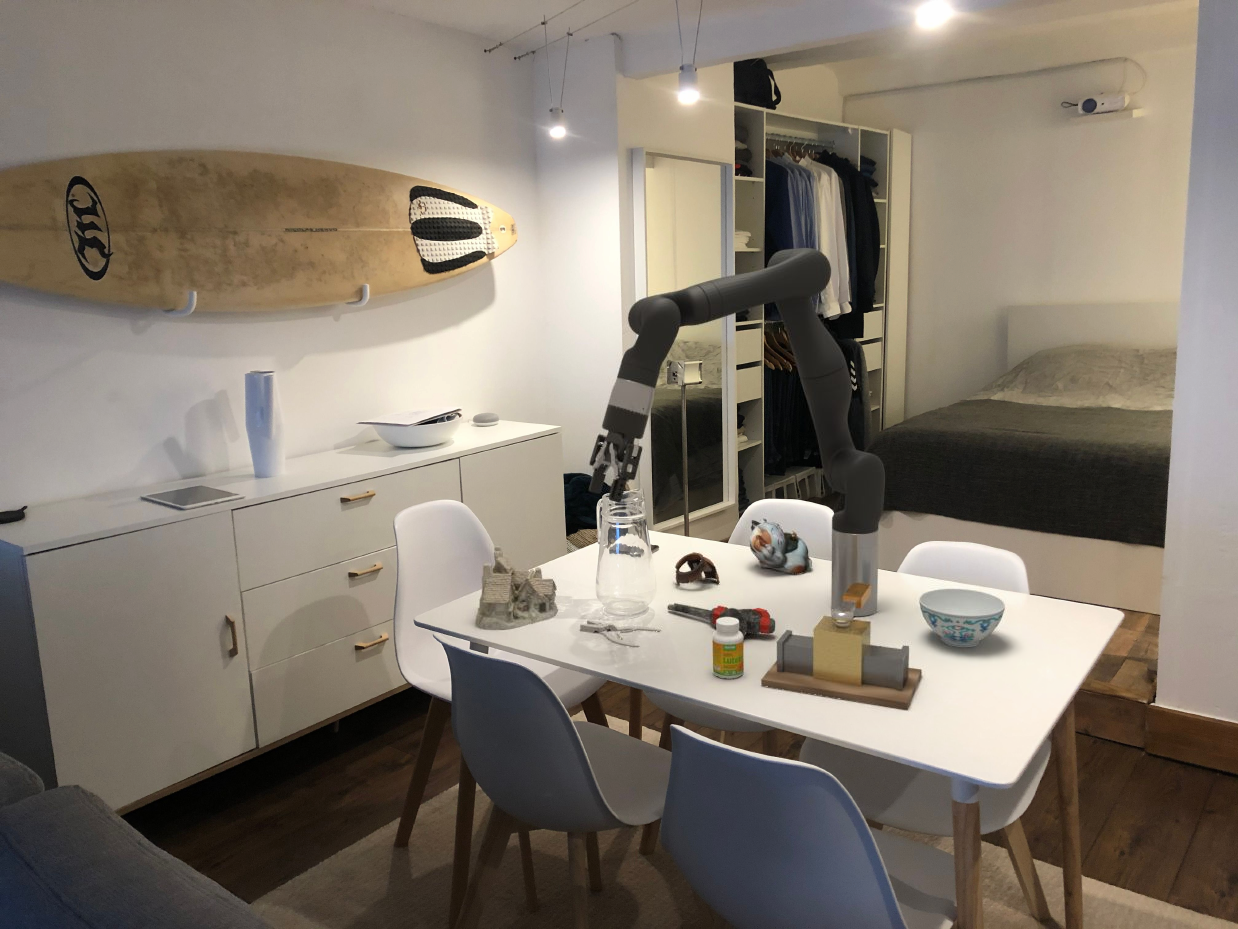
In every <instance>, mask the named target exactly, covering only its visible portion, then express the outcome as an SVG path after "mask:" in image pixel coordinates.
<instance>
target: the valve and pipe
mask: <svg viewBox="0 0 1238 929" xmlns="http://www.w3.org/2000/svg"><path fill="white" fill-rule="evenodd" d="M871 624H872V623H871V621H869V620H868V621H867V620H862V619H854V618H853V621H851V622H836V621H834V620H832V618H831V616H830V615H823V616H822V618H820V620H819V621H818V622H817V624H816V626H814V628H813V630H812V631H813V635H812V636H808V635H799V634H793V629H790V630H789V629H786V630H785V631H784V632H783V634H782V635H781V636H780V637H779V638H778V640H777V641H776V661H777V672H781V673H783V672H789V673H796V674H802V675H808V676H813V679H818V680H825V681H831V682H837V683H844V684H850V685H857V686H861V685H862V684H867V685H873V686H880V687H886V688H893V689H896V690H897V691H902V690H903V688H904V686H905V684H906V682H907V679H908V677H909V668H910V667H909V666H910V646H909V645H902V647H901V648H896V647H888V646H882V645H881V646H880V645H874V644H871V638H872V637H871V635H872V634H871V632H872V631H871V628H872V627H871V626H872V625H871Z"/></svg>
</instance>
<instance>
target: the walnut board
mask: <svg viewBox="0 0 1238 929" xmlns="http://www.w3.org/2000/svg"><path fill="white" fill-rule="evenodd" d="M922 673H923V672H922V669H921V668H914V667H909V677H908V679H907V682H906V684H905V686H904V688H903V690H902V691H897V690H896V689H893V688H886V687H880V686H873V685H867V684H862V685H861V686H857V685H850V684H844V683H837V682H831V681H825V680H818V679H813V676H808V675H802V674H796V673H789V672H783V673H781V672H777V660H775V662H774V663H773V664H772V665H771V667H770V668H769V669H768V671H767V672H766V673H765V674H764V675H763V677H762V678H761V680H760V682H761V685H760V686H761V687H764V686H768V687H767V688H770V687H773V688H772V689H776V688H778V689H777V690H782V689H784V690H783V691H788V690H791V691H790V692H795V691H796V692H795V693H801V692H802V693H801V694H807V693H810V695H813V694H816V695H815V696H819V695H822V696H821V697H825V696H828V698H831V697H834V698H833V699H837V698H840V699H839V700H844V699H846V700H845V701H850V700H852V701H851V702H856V701H858V702H857V703H862V702H863V703H864V704H870V705H876V706H881V707H888V708H895V709H898V710H899V709H900V710H906V711H908V708H910V704H911V701H912V699H913V697H914V695H915V692H916V690H917V687H918V685H919V683H920V680H921V678H922Z"/></svg>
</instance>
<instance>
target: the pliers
mask: <svg viewBox="0 0 1238 929" xmlns="http://www.w3.org/2000/svg"><path fill="white" fill-rule="evenodd" d="M579 628H580V630H579V631H580V632H587V633H592V634H594V633H596V632H597V633H598V634H600V635H602V636H604V637H605V638H606V639H607V640H608V641H610V642H612V643H614V644H616V645H619V646H623V647H627V646H629V647H630V648H634V647H639V648H640V645H639V644H636V643H635V644H634V643H631V642H628V641H625V640H623V639H622V635H621V634H628V633H629V634H630V633H633V631H634V632H637V631H645V632H653V631H655V633H661V632H662V630H661V629H658V628H654V627H649V626H638V625H637V626H636V625H626V626H624V625H623V626H617V625H615V624H614V623H612V622H603V623H602V622H601V621H597V620H592V619H587V620H586V623H580V624H579ZM609 630H610V631H612V632H617V633H616V636H617V637H618V638H617V637H616V636H615V635H614V634H613V633H612V632H609ZM656 631H657V632H656ZM660 631H661V632H660ZM618 632H619V633H618Z"/></svg>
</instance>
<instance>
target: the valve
mask: <svg viewBox="0 0 1238 929" xmlns="http://www.w3.org/2000/svg"><path fill="white" fill-rule="evenodd" d="M667 610H668V611H673V612H675V613H676V612H678V613H681V614H687V615H690V616H692V615H693V616H695V617H702V618H707V619H708V620H709V622H710V623H711V624H712V625H713V626H715V627H716V620H717V619H719V618H722V617H732V618H736V619H738V620H739V631H740V632H741V633H742V634H743V638H744V637H745V636H746V634H757V635H759V634H761V635H762V634H763V635H764V634H766V635H771V634H774V633H775V631H776V620H775V619H774V618H771V615H770V613H769V611H768V610H767V609H764V608H761V607H755V608H740V609H738V608H735V607H727V606H723V605H718V606H717V607H713V608H712V609H711V610H710V609H708V608H707V609H705V608H702V607H701V608H700V607H696V606H691V605H687V604H686V605H685V604H681V603H676V602H674V603H673V604H672V603H669V604H668V605H667Z"/></svg>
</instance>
